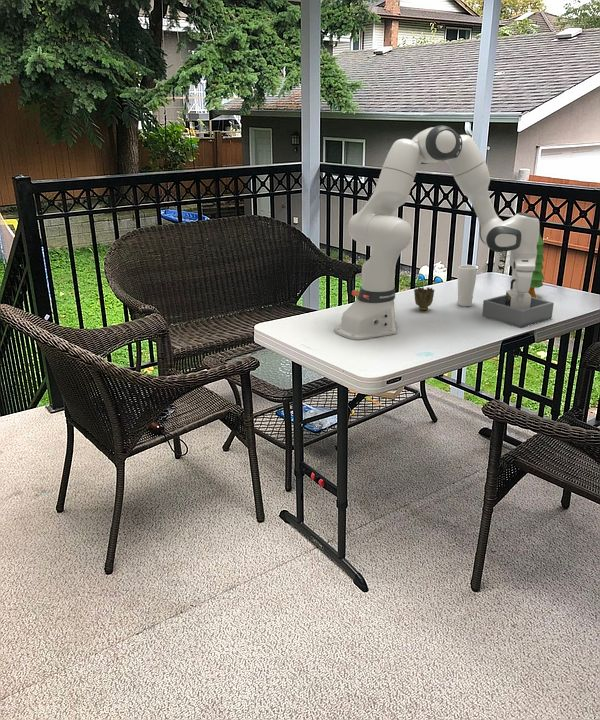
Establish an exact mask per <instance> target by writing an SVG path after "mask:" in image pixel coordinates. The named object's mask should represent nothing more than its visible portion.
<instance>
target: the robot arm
mask: <svg viewBox="0 0 600 720" xmlns="http://www.w3.org/2000/svg"><path fill="white" fill-rule="evenodd" d="M439 162H445V164H447V165H448V167H449V168H450V172H451V173H452V176H453V179H454V180H455V182H456V184H457V186H458V187H459V189H460V190H461V191H462V194H464V195H465V197H466V198H467V199H468V200H469V201H470V203H471V205H472V208H473V210H474V212H475V215H476V217H477V220H478V223H479V232H478V233H479V238H480V240H481V242H482V243H483V244H484V245H485V246H486V247H488V248H489V249H490V250H491V251H493V252H496V253H503V252H504V253H505V252H509V260H508V265H509V266H510V267H511V270H512V271H511V281H512V280H513V279H515V281H516V284H515V287H516V289H517V292H518V297H517V302H518V303H522V302H523V297H524V294H525V293H528V292H529V289H530V285H531V280H532V274H533V271H535V265H536V257H537V248H536V247H537V243H538V240H539V231H540V219H539V218H538V217H537V216H536V215H534V214H530V213H527V212H518V213H516V214H514V215H513V216H512V217H510V218H508V219H506V220H503V219H502V218H500V217H499V215H498V214H497V213H496V210H495V207H494V205H493V203H492V200H491V198H490V194H489V186H490V182H491V176H490V172H489V167H488V164H487V163H486V160H485V158H484V156H483V153H482V152H481V150H480V147H479V146H478V145H477V143H476V142H475V140H474V138H472V136H470V135H467V134H458V133H457V132H456V130H455V129H453V128H452V127H451V126H447V125H437V126H433V127H432V126H431V127H428V128H426V129H423V130H421V131H419V132H416V134H414V135H413V136H412V138H410V139H409V138H400V139H396V140H395V141H394V142H393V144H392V145H391V148H390V149H389V150H388V153H387V155H386V157H385V161H384V162H383V164H382V168H381V171H380V174H379V178H378V180H377V182H376V185H375V188H374V190H373V193H372V194H371V196H370V197H369V199H368V200H367V202H366V203H365V205H364V206H363V207H362V208H361V209H360V211H358V212H357V213H355V214H353V215H352V217H350V219H349V221H348V224H347V233H348V235H349V237H350V238H351V239H352V240H354V241H355V242H357V243H359V244H361V245H364V246H368V247H371V254H370V257H369V259H367V260H366V261H364V262H363V264H362V266H361V286H360V289H359V290H357V289H353V290H352V291H351V295H352V296H354V297H357V299H356V300H355V301H353V303H352V304H351V305H350V306H349V307H348V308H346V310H344V312H343V313H342V316H341V322H340V324H339V325H336V326H334V329H333V330H334V332H335V333H336V334H338V335H340V336H342V337H345V338H347V339H351V340H355V341H356V340H357V341H358V340H360V341H361V340H366V339H373V338H379V337H385V336H389V335H395V334H397V330H398V324H397V319H396V314H395V313H396V312H395V299H396V287H395V276H396V265H397V262H398V259H399V257H400V255H401V253H402V252H403V251H404V250H405V249H406V248H407V247H408V246H409V245H410V244H411V241H412V238H413V229H412V226H411V224H410V223H409V222H408V221H406V220H404V219H402V218H400V217H398V216H394V215H393V214H394V213H395V211H397V209H398V208H399V207H401V206H403V205H404V204H406V202H407V201H408V199H409V195H410V193H411V189H412V187H413V184H414V180H415V177H416V175H417V171H418V169H419V167H420V165H426V164H427V165H428V164H435V163H439Z"/></svg>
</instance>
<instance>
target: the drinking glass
mask: <svg viewBox="0 0 600 720" xmlns="http://www.w3.org/2000/svg"><path fill="white" fill-rule="evenodd" d="M477 268H478V267H477V266H475V265H472V264H462V265H458V269H457V305H458V306H459V305H460V307H467V306H468V307H471V306H472V304H473V298H474V291H475V288H476V287H475V286H476V285H475V284H476V280H477V270H478V269H477Z"/></svg>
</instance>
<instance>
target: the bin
mask: <svg viewBox="0 0 600 720" xmlns="http://www.w3.org/2000/svg"><path fill="white" fill-rule="evenodd" d="M505 301H506V294H503V295H499V296H495V297H491V298H488V299H487V298H486V299H484V300H483V302H482V313H481V314H482V315H481V317H484V318H486V319H490V320H493V321H496V322H498V323H503V324H506V325H509V326H512V325H513V327H515V326H516V328H519V327H520V329H522V327H523V328H525V326H526V327H529V326H532V325H531V324H533V325H535V323H536V324H539V323H542V321H543V322H546V321H549V320H552V319H553V312H554V303H555V302H553V301H549V300H546V299H542V298H534V297H531V303H530V308H528V309H524V310H520V309H516V308H513V307H509V306H506V305H505ZM551 318H552V319H551ZM548 319H549V320H548ZM545 320H546V321H545ZM538 322H539V323H538ZM528 325H529V326H528Z"/></svg>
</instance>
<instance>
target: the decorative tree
mask: <svg viewBox="0 0 600 720" xmlns="http://www.w3.org/2000/svg"><path fill="white" fill-rule="evenodd" d="M543 245H545V243H544V240H543V238H542V235H541V232H540V230H539V240H538V243H537V247H536V248H537V257H536V265H535V271H533V274H532V280H531V285H530V289H529V292H528V293H529V294H530V295H531V297H534V298H536V297H537V295H536V291H535V289H538V288H541V287H543V286H544V284H543V280H546V278H545V277H544V273H543V271H542V270H543V269H544V265H543V262H545V259H544V255H543V254H544V253H545V249H544V246H543Z"/></svg>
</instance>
